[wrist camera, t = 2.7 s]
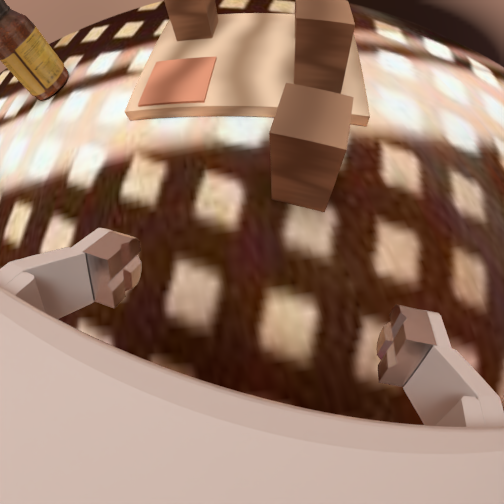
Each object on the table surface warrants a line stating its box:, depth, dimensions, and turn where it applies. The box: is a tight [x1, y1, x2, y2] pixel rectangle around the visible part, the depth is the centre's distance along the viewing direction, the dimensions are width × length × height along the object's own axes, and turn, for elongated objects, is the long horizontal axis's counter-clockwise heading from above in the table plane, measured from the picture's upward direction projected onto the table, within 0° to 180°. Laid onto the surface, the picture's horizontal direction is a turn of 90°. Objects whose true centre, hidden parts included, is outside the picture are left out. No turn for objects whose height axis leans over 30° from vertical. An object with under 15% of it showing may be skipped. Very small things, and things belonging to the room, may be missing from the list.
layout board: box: [125, 0, 370, 126], centre depth 25 cm, size 24×18×10 cm
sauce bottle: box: [0, 0, 68, 100], centre depth 24 cm, size 7×6×20 cm
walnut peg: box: [270, 83, 354, 212], centre depth 21 cm, size 4×4×9 cm
